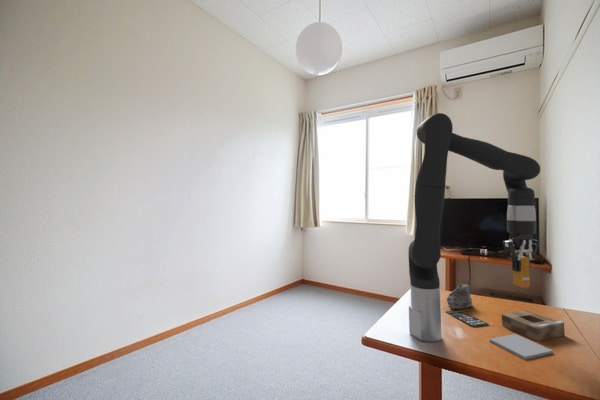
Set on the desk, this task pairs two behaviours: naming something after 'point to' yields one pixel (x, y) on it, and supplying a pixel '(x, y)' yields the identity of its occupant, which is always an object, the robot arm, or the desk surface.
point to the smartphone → (467, 318)
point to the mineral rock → (460, 297)
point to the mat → (521, 346)
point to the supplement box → (523, 274)
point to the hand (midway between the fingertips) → (521, 270)
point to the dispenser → (533, 325)
